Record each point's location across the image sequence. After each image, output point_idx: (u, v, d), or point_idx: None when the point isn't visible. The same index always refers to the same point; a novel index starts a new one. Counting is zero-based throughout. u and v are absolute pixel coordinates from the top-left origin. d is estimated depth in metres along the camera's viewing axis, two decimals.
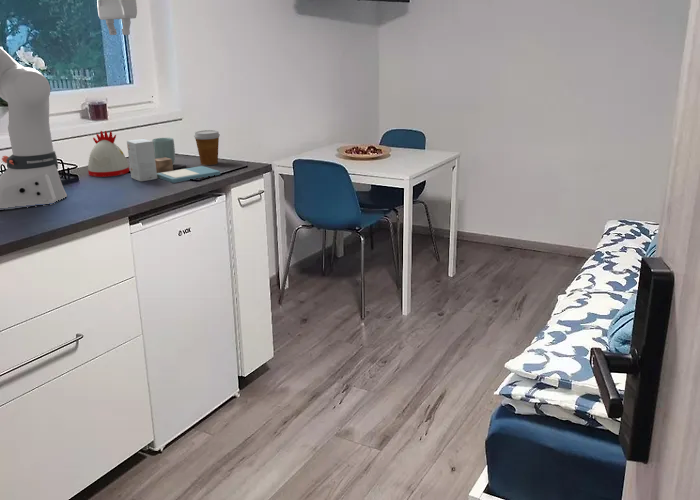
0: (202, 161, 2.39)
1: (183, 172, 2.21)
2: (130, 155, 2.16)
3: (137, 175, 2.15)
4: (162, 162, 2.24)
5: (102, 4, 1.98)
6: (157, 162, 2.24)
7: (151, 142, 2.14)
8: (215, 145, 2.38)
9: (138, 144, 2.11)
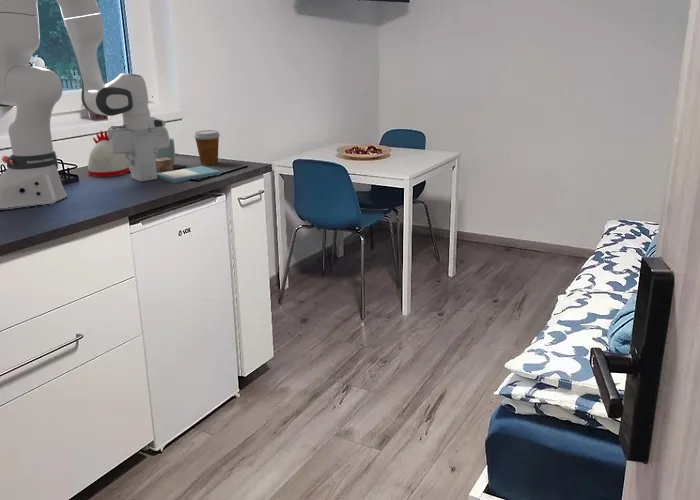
0: (202, 161, 2.39)
1: (183, 172, 2.21)
2: (130, 155, 2.16)
3: (137, 175, 2.15)
4: (162, 162, 2.24)
5: (124, 139, 2.10)
6: (157, 162, 2.24)
7: (151, 142, 2.14)
8: (215, 145, 2.38)
9: (138, 144, 2.11)
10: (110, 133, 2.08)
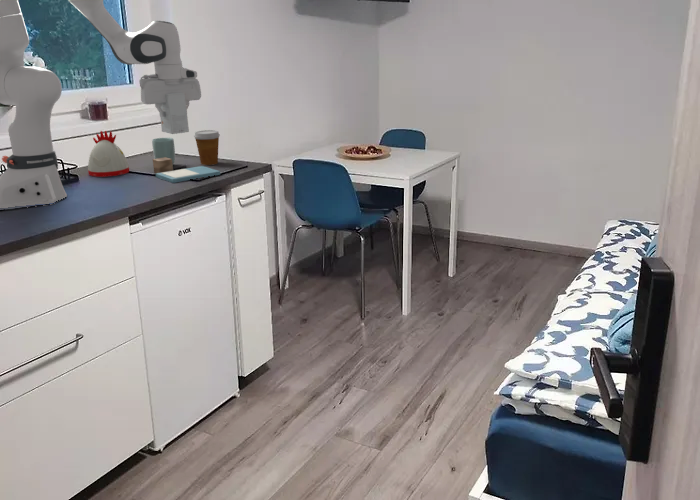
0: (202, 161, 2.39)
1: (183, 172, 2.21)
2: (161, 107, 2.12)
3: (169, 127, 2.11)
4: (162, 162, 2.24)
5: (156, 89, 2.06)
6: (157, 162, 2.24)
7: (183, 94, 2.10)
8: (215, 145, 2.38)
9: (170, 95, 2.07)
10: (142, 82, 2.03)
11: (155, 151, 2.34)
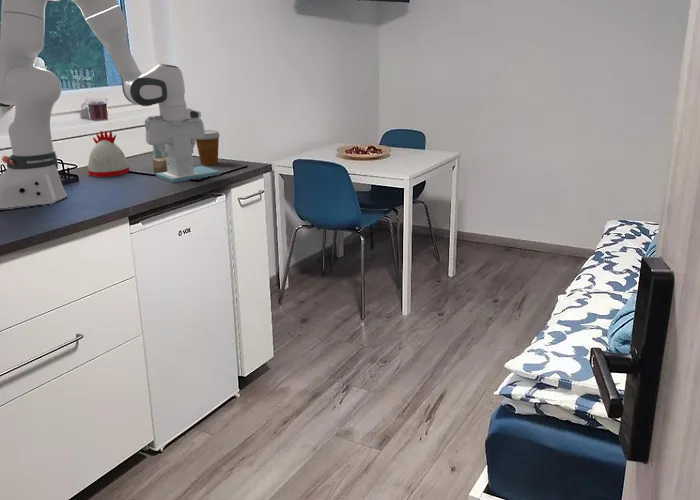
0: (202, 161, 2.39)
1: None
2: (167, 149, 2.17)
3: (174, 169, 2.16)
4: (162, 162, 2.24)
5: (161, 130, 2.10)
6: (157, 162, 2.24)
7: (188, 136, 2.15)
8: (215, 145, 2.38)
9: (176, 138, 2.12)
10: (147, 124, 2.08)
11: (155, 151, 2.34)
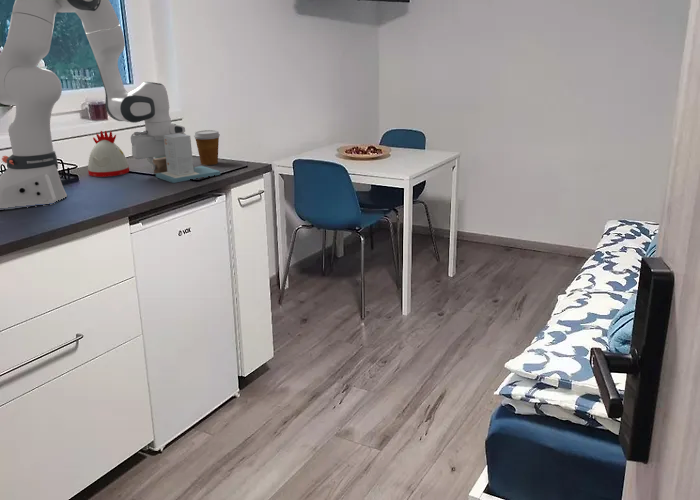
0: (202, 161, 2.39)
1: None
2: (167, 149, 2.17)
3: (174, 169, 2.16)
4: (162, 162, 2.24)
5: (146, 145, 2.19)
6: (157, 162, 2.24)
7: (188, 136, 2.15)
8: (215, 145, 2.38)
9: (176, 138, 2.12)
10: (133, 139, 2.17)
11: None
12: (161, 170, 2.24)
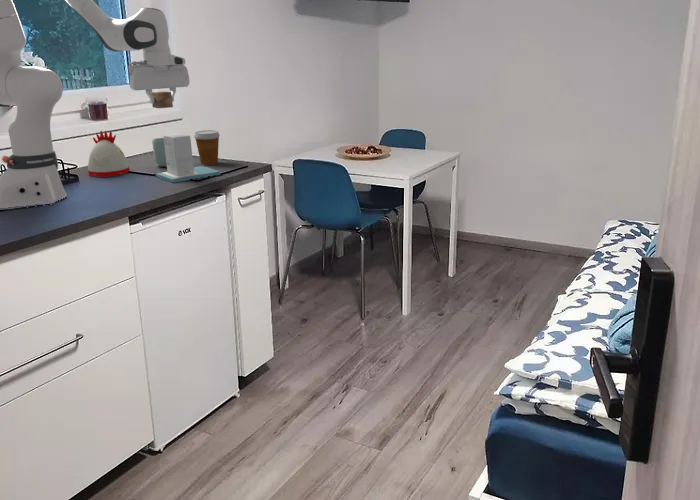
0: (202, 161, 2.39)
1: None
2: (167, 149, 2.17)
3: (174, 169, 2.16)
4: (161, 94, 2.13)
5: (144, 75, 2.09)
6: (156, 94, 2.13)
7: (188, 136, 2.15)
8: (215, 145, 2.38)
9: (176, 138, 2.12)
10: (131, 68, 2.06)
11: (155, 151, 2.34)
12: (160, 103, 2.13)
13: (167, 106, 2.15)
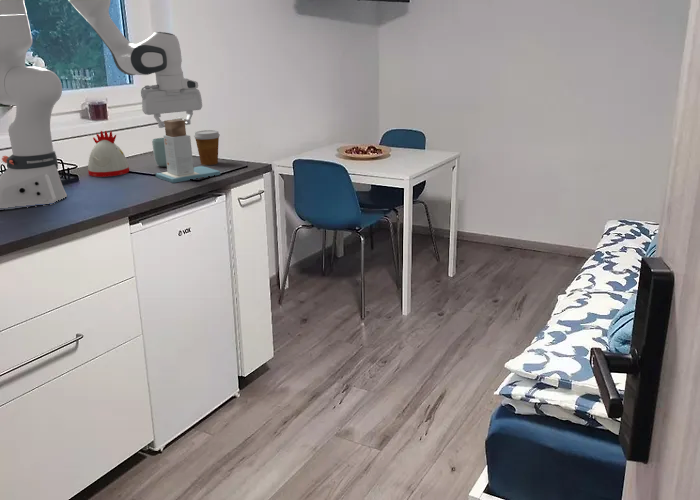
0: (202, 161, 2.39)
1: None
2: (167, 149, 2.17)
3: (174, 169, 2.16)
4: (174, 123, 2.12)
5: (157, 99, 2.07)
6: (169, 123, 2.11)
7: (188, 136, 2.15)
8: (215, 145, 2.38)
9: (176, 138, 2.12)
10: (143, 93, 2.04)
11: (155, 151, 2.34)
12: (173, 132, 2.12)
13: (180, 134, 2.14)
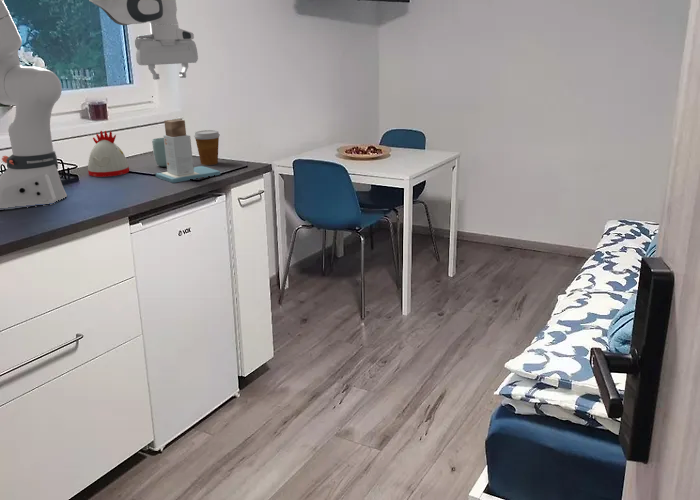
0: (202, 161, 2.39)
1: None
2: (167, 149, 2.17)
3: (174, 169, 2.16)
4: (174, 123, 2.12)
5: (151, 50, 2.02)
6: (169, 123, 2.11)
7: (188, 136, 2.15)
8: (215, 145, 2.38)
9: (176, 138, 2.12)
10: (137, 42, 1.99)
11: (155, 151, 2.34)
12: (173, 132, 2.12)
13: (180, 134, 2.14)
